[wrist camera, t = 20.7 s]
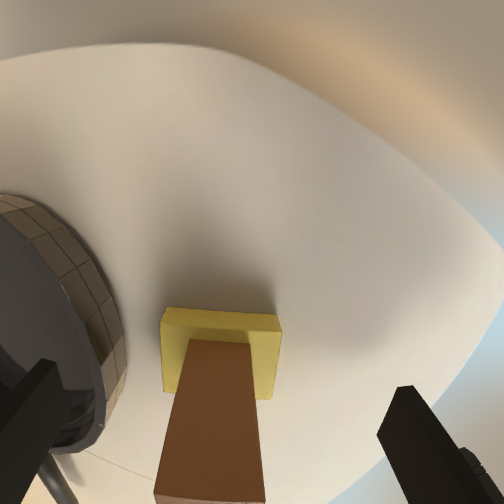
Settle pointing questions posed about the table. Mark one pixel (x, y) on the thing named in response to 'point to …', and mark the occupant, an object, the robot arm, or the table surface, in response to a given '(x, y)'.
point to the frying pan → (58, 319)
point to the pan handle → (55, 481)
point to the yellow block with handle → (215, 404)
